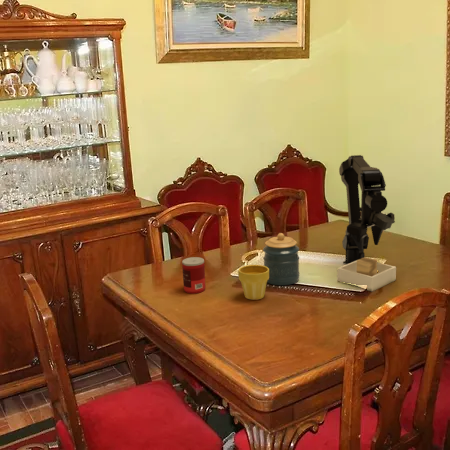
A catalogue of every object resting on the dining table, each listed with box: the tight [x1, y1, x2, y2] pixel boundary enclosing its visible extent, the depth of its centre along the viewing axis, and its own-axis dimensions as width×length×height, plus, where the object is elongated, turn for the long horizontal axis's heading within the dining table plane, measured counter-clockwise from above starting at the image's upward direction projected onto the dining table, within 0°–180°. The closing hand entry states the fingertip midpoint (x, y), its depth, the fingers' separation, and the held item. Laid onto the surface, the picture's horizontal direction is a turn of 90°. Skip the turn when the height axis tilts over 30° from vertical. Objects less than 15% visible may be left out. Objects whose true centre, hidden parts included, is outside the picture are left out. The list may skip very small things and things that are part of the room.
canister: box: [262, 232, 300, 286], centre depth 212 cm, size 13×13×18 cm
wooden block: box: [357, 256, 378, 277], centre depth 208 cm, size 5×5×7 cm
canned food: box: [181, 256, 206, 295], centre depth 206 cm, size 8×8×11 cm
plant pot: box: [237, 264, 269, 301], centre depth 198 cm, size 10×10×10 cm
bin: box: [336, 260, 397, 292], centre depth 209 cm, size 15×15×5 cm
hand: (368, 247), depth 208 cm, fingers open, 9 cm apart
